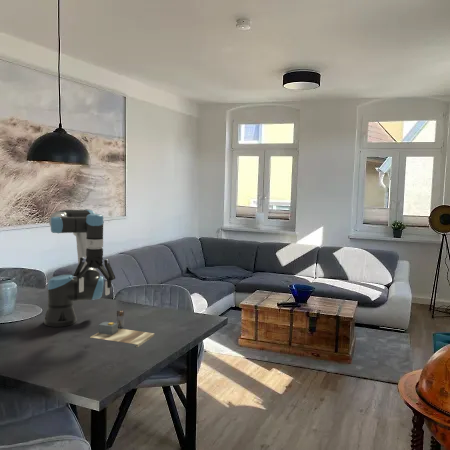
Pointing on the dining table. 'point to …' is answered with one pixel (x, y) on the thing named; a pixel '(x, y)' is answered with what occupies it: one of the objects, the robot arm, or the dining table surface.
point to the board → (126, 336)
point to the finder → (108, 328)
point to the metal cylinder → (120, 318)
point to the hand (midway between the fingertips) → (94, 293)
